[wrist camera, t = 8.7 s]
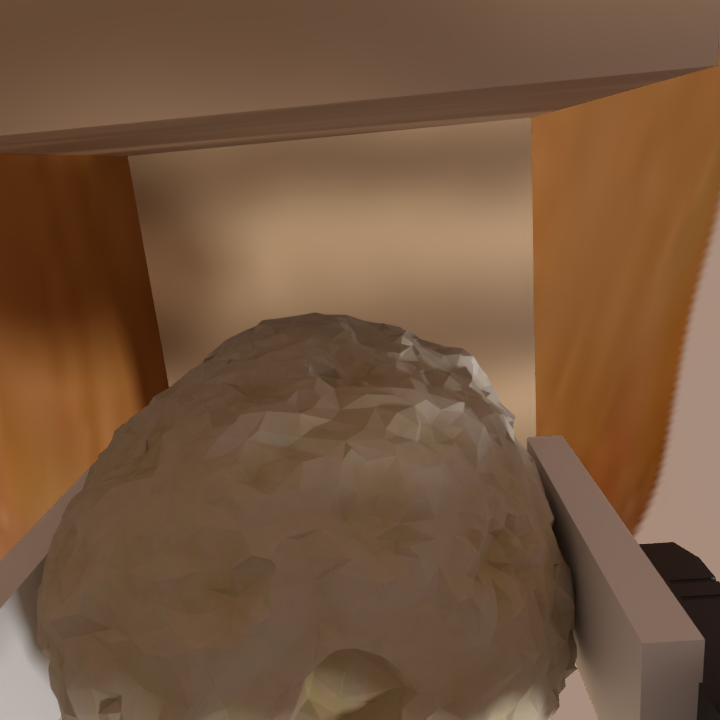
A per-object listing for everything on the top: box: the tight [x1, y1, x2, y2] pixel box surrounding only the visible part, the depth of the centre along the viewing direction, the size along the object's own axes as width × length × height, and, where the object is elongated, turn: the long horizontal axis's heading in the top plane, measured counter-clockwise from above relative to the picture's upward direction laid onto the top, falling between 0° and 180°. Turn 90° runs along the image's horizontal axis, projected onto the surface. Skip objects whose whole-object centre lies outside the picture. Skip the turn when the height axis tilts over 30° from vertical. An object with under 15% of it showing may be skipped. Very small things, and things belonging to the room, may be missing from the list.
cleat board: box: [0, 0, 720, 451], centre depth 20 cm, size 17×14×16 cm
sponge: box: [37, 312, 577, 720], centre depth 12 cm, size 9×10×10 cm
